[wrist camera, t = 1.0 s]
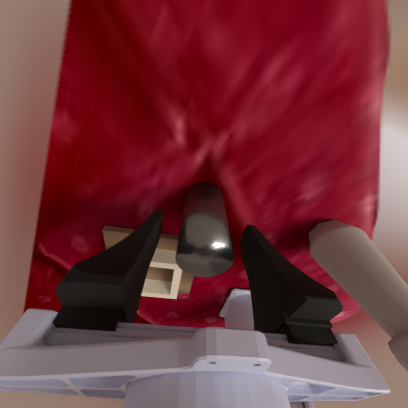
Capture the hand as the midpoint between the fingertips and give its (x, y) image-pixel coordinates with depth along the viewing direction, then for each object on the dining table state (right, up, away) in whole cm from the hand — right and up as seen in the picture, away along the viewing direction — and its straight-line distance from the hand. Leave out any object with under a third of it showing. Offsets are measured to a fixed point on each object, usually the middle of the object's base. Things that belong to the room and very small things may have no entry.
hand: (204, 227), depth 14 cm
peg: (0, +3, +4) cm, 5 cm away
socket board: (-7, -6, +10) cm, 14 cm away
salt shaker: (+15, -2, +7) cm, 17 cm away
